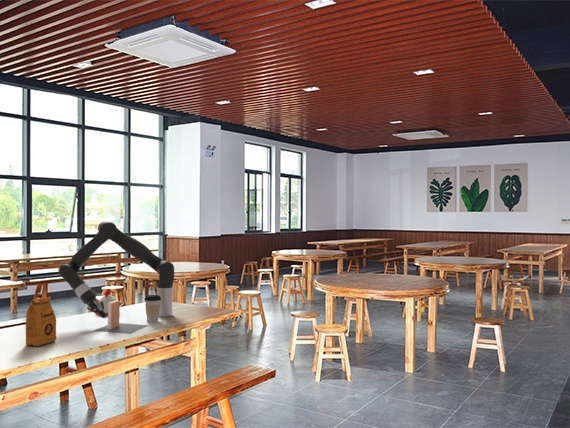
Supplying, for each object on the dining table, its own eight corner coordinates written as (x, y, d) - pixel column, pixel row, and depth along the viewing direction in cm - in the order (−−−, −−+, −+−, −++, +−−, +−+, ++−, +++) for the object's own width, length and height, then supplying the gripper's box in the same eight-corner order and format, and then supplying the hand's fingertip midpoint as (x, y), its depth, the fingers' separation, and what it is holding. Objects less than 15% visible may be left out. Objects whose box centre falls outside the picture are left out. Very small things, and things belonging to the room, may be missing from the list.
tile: (107, 328, 272) (108, 302, 272) (115, 325, 280) (116, 300, 280) (111, 329, 272) (111, 303, 272) (119, 325, 280) (119, 300, 279)
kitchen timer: (122, 311, 322) (122, 287, 321) (115, 315, 308) (115, 291, 308) (99, 311, 321) (100, 287, 321) (92, 315, 307) (92, 290, 307)
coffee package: (59, 342, 246) (60, 296, 246) (37, 348, 235) (37, 300, 235) (45, 339, 250) (45, 295, 250) (22, 345, 239) (23, 299, 239)
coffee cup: (156, 324, 287) (156, 297, 287) (141, 323, 289) (141, 296, 289) (163, 320, 296) (164, 295, 296) (148, 319, 298) (149, 294, 298)
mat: (92, 331, 268) (92, 330, 268) (113, 323, 287) (113, 322, 287) (130, 334, 263) (130, 333, 263) (149, 326, 282) (149, 325, 282)
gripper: (82, 290, 273) (102, 314, 270) (96, 287, 285) (116, 310, 283) (73, 300, 274) (93, 324, 271) (88, 296, 287) (107, 319, 284)
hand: (105, 317), depth 277 cm, fingers closed
